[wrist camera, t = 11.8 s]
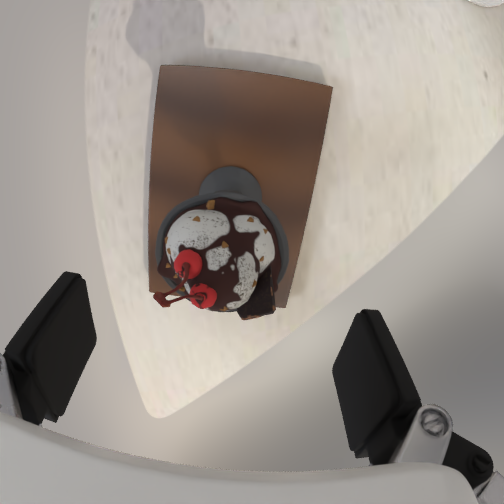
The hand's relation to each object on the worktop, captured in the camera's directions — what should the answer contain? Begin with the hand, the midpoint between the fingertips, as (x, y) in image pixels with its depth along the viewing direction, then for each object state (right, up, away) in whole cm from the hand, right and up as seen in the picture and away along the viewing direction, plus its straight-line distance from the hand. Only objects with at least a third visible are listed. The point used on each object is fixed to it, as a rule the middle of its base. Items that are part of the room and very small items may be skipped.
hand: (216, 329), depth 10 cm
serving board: (-1, +8, +15) cm, 17 cm away
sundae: (-1, +7, +14) cm, 16 cm away
